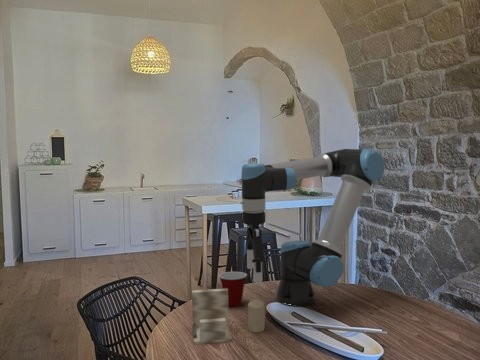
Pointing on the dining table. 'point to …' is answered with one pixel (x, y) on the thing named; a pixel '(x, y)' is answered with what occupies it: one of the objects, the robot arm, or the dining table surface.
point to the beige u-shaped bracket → (210, 316)
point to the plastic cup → (233, 286)
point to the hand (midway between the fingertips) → (254, 274)
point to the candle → (256, 316)
